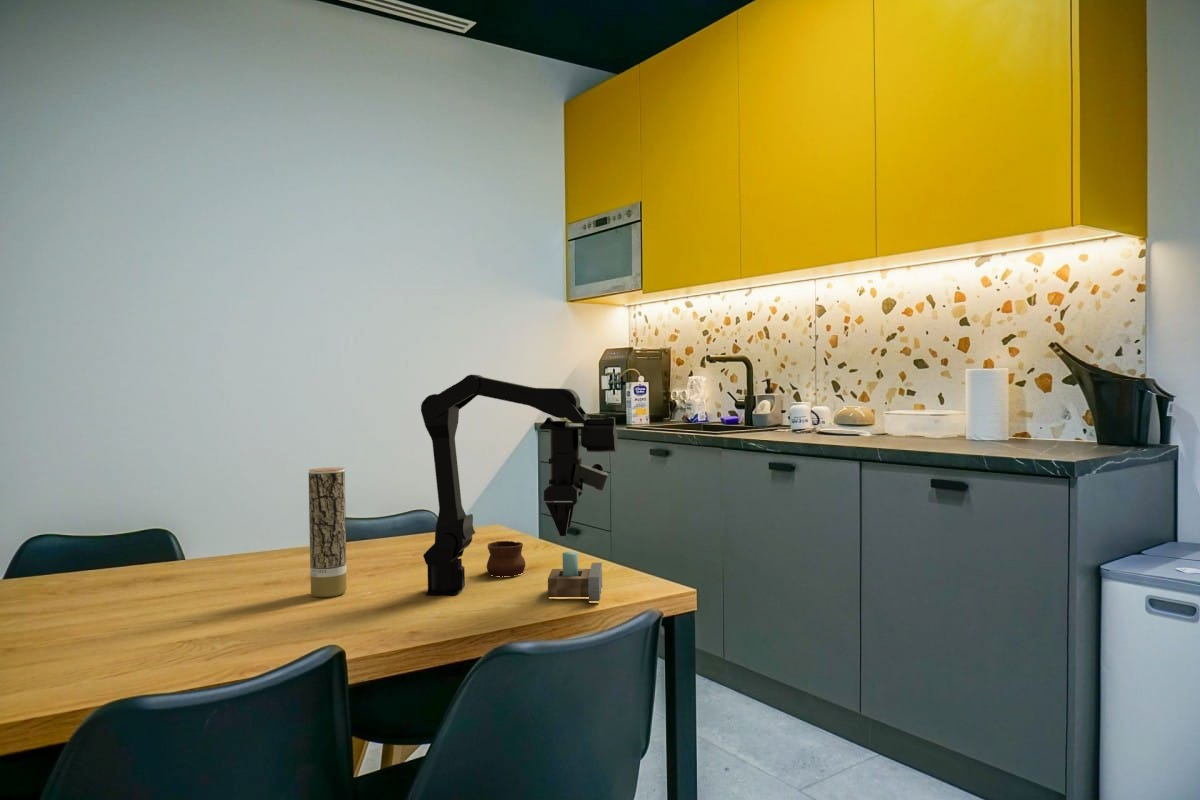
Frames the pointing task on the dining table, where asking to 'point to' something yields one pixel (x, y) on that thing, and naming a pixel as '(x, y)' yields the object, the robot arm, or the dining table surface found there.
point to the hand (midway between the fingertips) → (565, 531)
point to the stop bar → (595, 582)
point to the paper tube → (327, 531)
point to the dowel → (570, 564)
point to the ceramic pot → (505, 558)
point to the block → (568, 584)
